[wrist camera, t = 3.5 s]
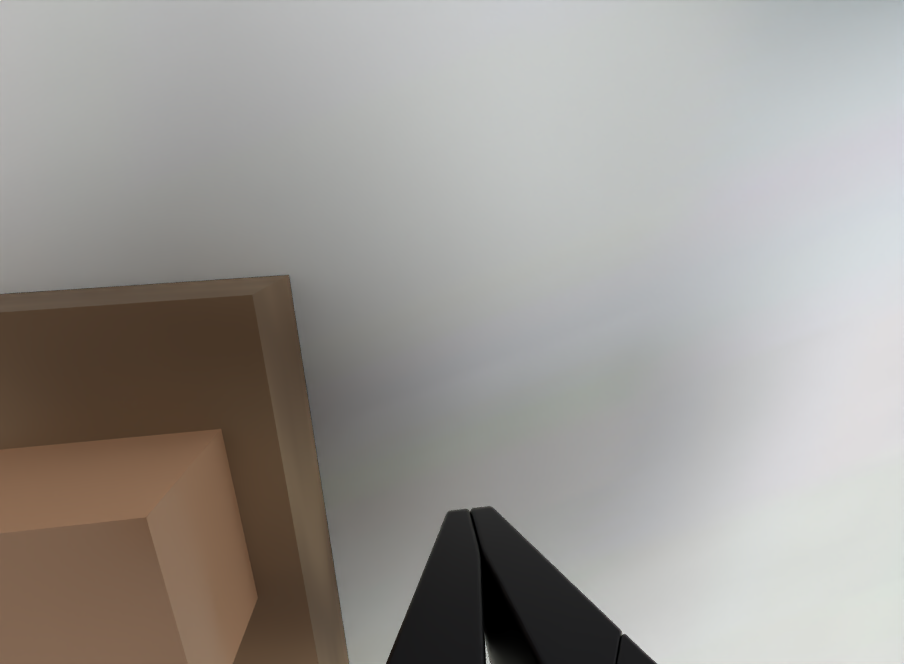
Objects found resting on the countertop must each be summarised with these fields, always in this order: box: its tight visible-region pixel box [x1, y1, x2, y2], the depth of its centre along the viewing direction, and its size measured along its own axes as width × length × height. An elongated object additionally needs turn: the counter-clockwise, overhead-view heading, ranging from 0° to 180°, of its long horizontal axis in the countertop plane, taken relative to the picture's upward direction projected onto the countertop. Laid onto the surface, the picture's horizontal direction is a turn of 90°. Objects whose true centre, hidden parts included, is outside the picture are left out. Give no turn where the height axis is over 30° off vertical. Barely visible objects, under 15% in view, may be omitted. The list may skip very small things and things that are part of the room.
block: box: [0, 429, 258, 664], centre depth 7 cm, size 4×4×2 cm
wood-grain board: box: [0, 275, 349, 664], centre depth 11 cm, size 15×8×2 cm, turn 3°
